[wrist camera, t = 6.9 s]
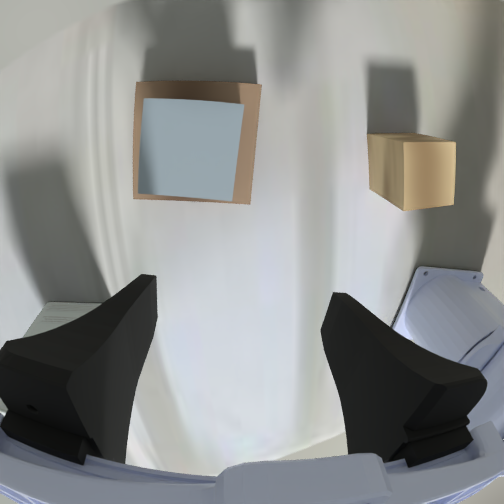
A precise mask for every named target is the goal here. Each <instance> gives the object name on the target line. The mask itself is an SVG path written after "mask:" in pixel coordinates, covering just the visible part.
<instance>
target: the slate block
mask: <svg viewBox="0 0 504 504" xmlns="http://www.w3.org/2000/svg"><path fill="white" fill-rule="evenodd" d="M243 112H244V104H235V103H225V102H215V101H202V100H185V99H156V98H144V102H143V112H142V123H141V135H140V151H139V171H138V194H152V195H166V196H179V197H191V198H202V199H213V200H223V201H232V198H233V190H234V182H235V173H236V165H237V157H238V149H239V142H240V134H241V126H242V119H243Z"/></svg>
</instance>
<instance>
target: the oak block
mask: <svg viewBox="0 0 504 504" xmlns="http://www.w3.org/2000/svg"><path fill="white" fill-rule="evenodd" d="M367 142H368V159H369V186H370V190H372V191H373V192H375V193H377V194H378V195H380V196H381V197H383V198H384V199H386V200H387V201H389V202H390V203H392V204H393V205H395V206H396V207H398V208H399V209H401V210H402V211H409V210H417V209H424V208H432V207H440V206H448V205H453V204H454V190H455V168H456V142H453V141H449V140H445V139H440V138H436V137H432V136H427V135H422V134H417V133H377V134H367Z"/></svg>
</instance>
